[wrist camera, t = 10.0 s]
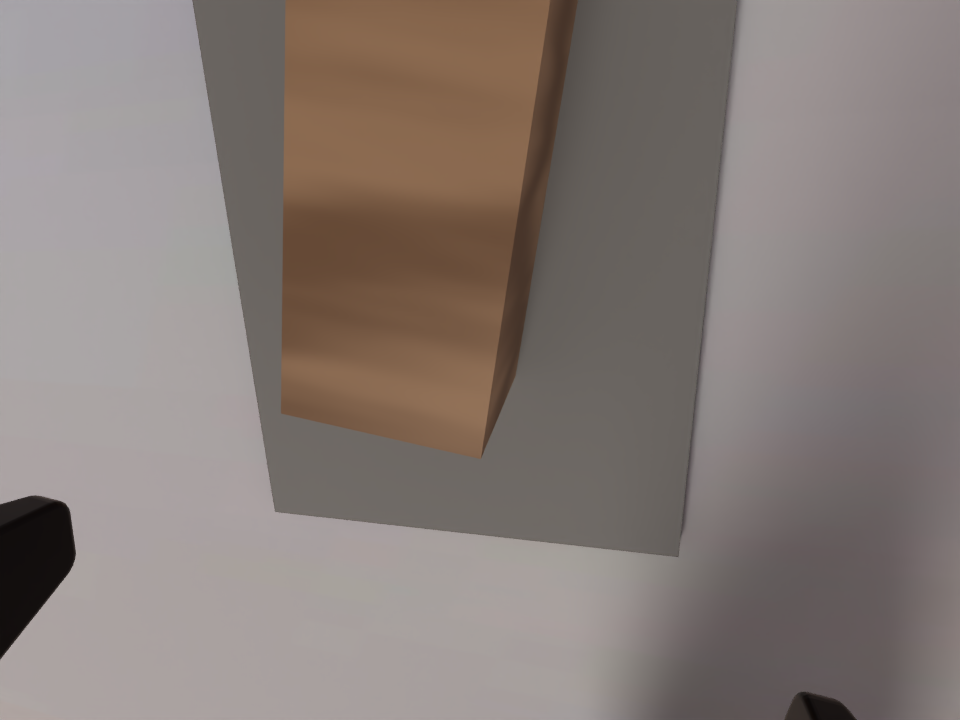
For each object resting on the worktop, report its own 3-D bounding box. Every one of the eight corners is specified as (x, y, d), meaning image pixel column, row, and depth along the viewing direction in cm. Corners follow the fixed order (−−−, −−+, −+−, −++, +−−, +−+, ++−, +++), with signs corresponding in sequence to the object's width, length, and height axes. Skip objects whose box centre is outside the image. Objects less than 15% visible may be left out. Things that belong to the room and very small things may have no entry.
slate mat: (677, 545, 21) (678, 557, 21) (283, 502, 24) (275, 511, 24) (784, -489, 13) (791, -516, 12) (148, -365, 15) (130, -382, 15)
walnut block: (480, 458, 15) (589, -262, 10) (280, 413, 16) (288, -280, 11) (515, 376, 20) (602, -149, 15) (358, 343, 20) (389, -167, 15)
